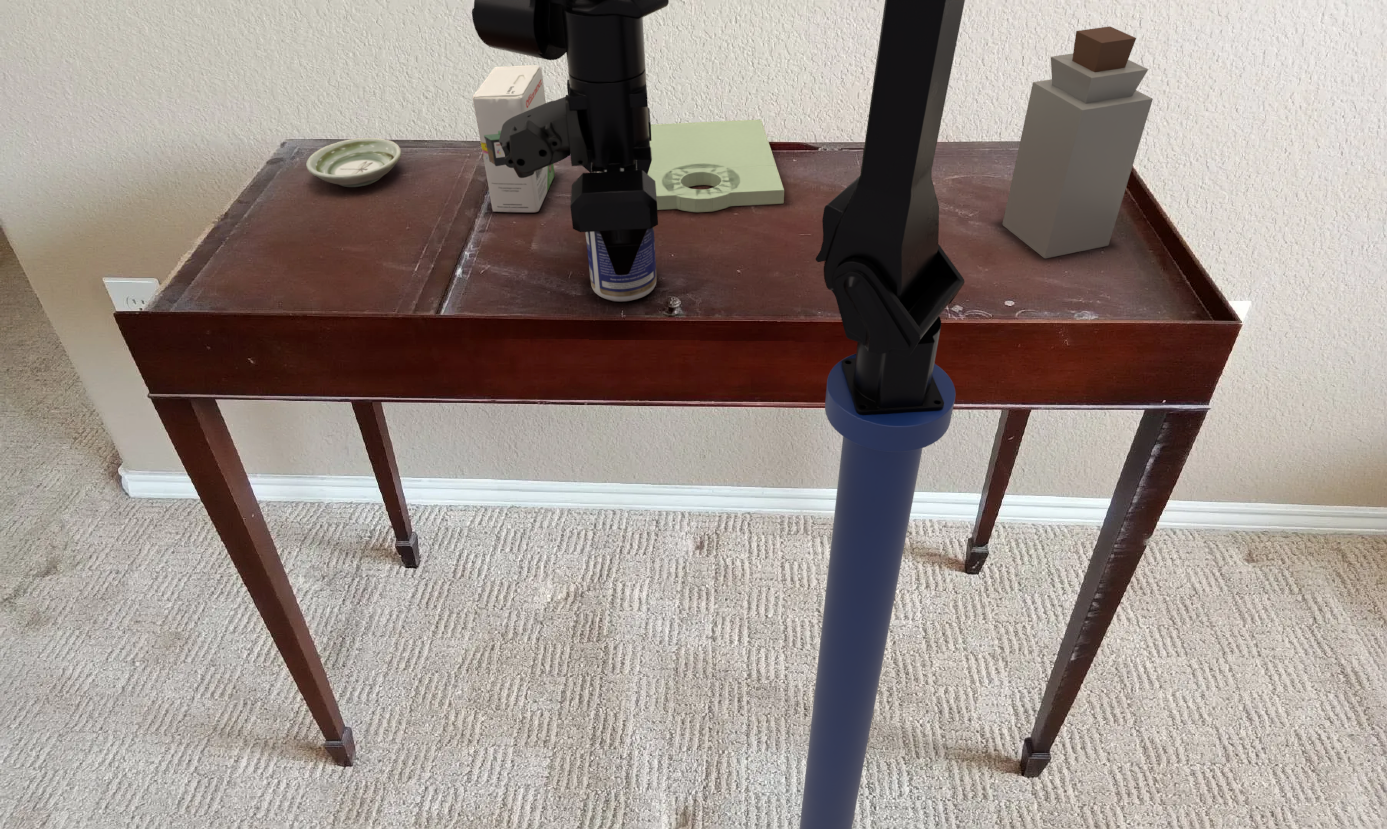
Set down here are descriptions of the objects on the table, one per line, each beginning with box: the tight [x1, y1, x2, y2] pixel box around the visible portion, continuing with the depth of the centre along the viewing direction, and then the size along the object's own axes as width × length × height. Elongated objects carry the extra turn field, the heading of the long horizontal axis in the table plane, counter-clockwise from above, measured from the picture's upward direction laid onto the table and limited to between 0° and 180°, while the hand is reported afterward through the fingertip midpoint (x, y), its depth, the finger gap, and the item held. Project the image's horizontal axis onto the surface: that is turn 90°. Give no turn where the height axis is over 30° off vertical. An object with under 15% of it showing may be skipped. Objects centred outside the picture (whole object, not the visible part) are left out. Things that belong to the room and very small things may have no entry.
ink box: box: [472, 64, 555, 213], centre depth 90 cm, size 8×5×12 cm, turn 175°
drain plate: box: [648, 119, 785, 213], centre depth 97 cm, size 19×16×2 cm
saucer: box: [305, 137, 402, 188], centre depth 97 cm, size 10×10×2 cm
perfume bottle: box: [1001, 25, 1154, 259], centre depth 79 cm, size 7×7×18 cm
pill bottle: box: [585, 168, 657, 302], centre depth 76 cm, size 6×6×10 cm
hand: (621, 255), depth 78 cm, fingers closed on pill bottle, 6 cm apart
